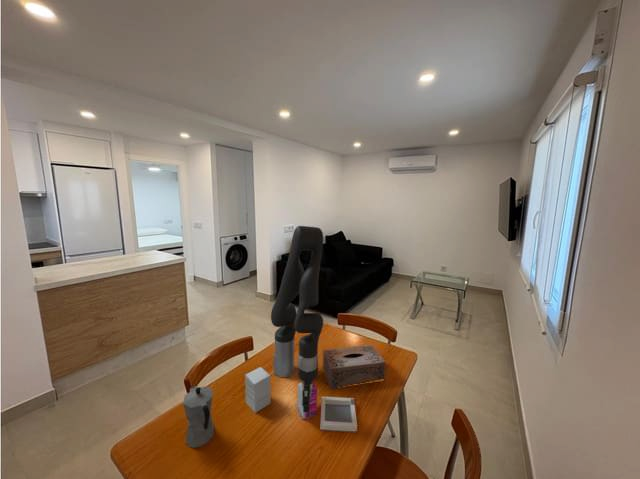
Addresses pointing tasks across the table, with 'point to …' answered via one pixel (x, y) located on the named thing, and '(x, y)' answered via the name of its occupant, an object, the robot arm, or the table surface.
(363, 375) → the tissue box cover
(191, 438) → the coffeepot
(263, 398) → the supplement box
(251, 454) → the table surface
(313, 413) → the supplement box
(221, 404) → the table surface
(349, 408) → the socket plate
